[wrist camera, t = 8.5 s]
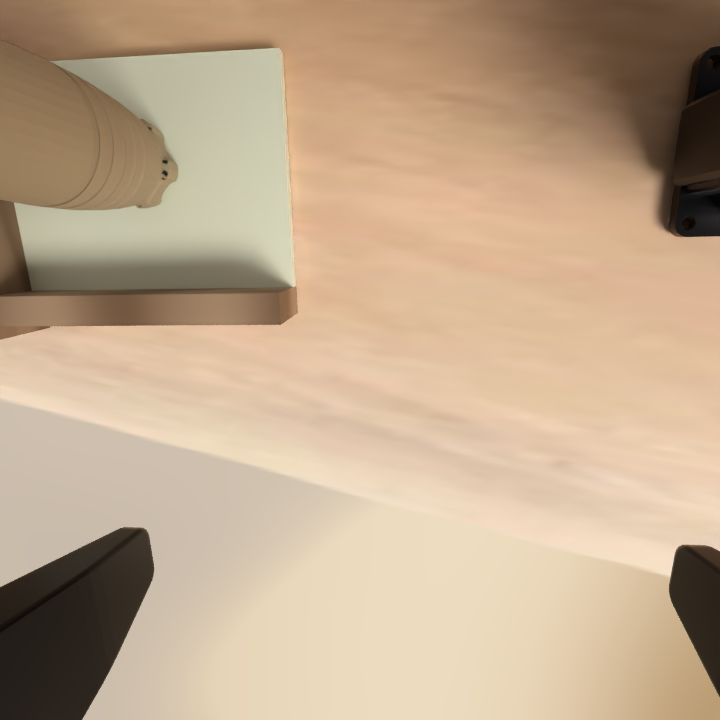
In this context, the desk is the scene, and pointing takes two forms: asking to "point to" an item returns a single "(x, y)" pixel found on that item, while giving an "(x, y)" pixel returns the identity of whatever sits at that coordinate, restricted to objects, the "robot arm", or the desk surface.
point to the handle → (73, 141)
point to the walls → (123, 299)
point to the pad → (183, 182)
